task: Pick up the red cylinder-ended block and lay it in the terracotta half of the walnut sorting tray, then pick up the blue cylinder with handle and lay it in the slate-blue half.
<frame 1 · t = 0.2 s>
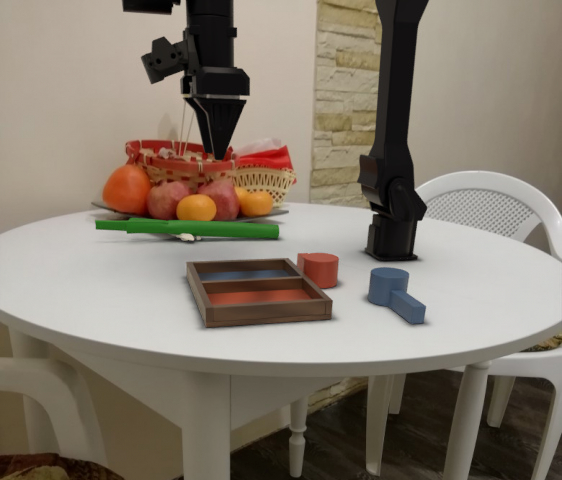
hand: (213, 156, 73), 15 cm above the table, tool pointing down, fingers open, 9 cm apart
blue cylinder with handle: (386, 300, 67), on the table
green stepped bar: (190, 241, 91), on the table
sorting tray: (252, 296, 66), on the table
red cylinder-ended block: (319, 283, 72), on the table
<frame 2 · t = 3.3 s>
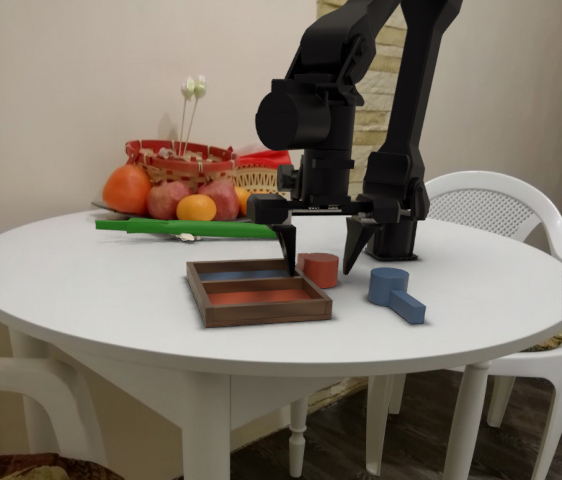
hand: (318, 275, 72), 1 cm above the table, tool pointing down, fingers open, 7 cm apart
nothing on the table moved.
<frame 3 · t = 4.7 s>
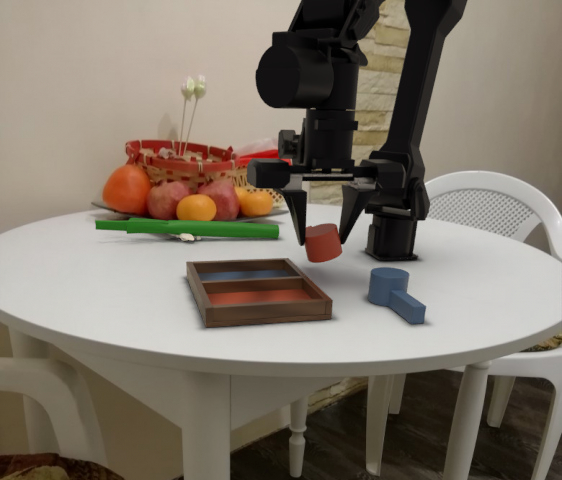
hand: (321, 244, 70), 5 cm above the table, tool pointing down, fingers closed on red cylinder-ended block, 5 cm apart
red cylinder-ended block: (325, 255, 71), point 4 cm above the table, tilted 18°, touching gripper
everything else where it was.
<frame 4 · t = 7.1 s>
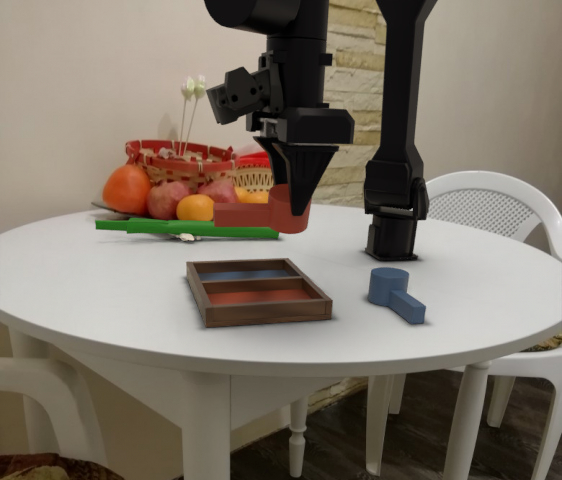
hand: (289, 210, 58), 11 cm above the table, tool pointing down, fingers closed on red cylinder-ended block, 5 cm apart
red cylinder-ended block: (286, 223, 60), point 10 cm above the table, tilted 18°, touching gripper
everything else where it was.
when the fingers open (3 cm above the table, at t = 9.4 s): red cylinder-ended block stays where it is, resting on sorting tray.
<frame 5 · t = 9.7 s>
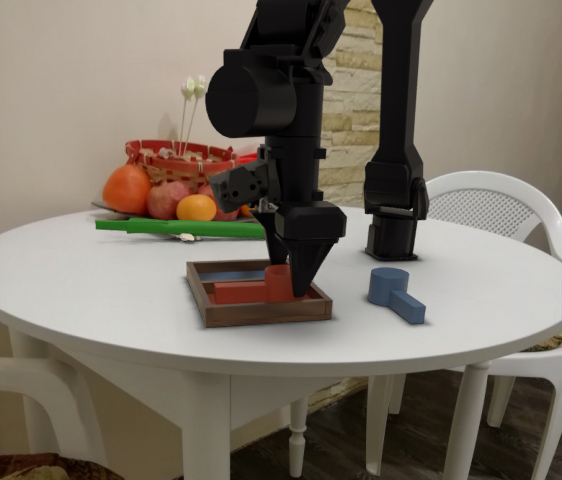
hand: (286, 284, 62), 3 cm above the table, tool pointing down, fingers open, 9 cm apart
red cylinder-ended block: (283, 299, 64), point 1 cm above the table, touching sorting tray
everything else where it was.
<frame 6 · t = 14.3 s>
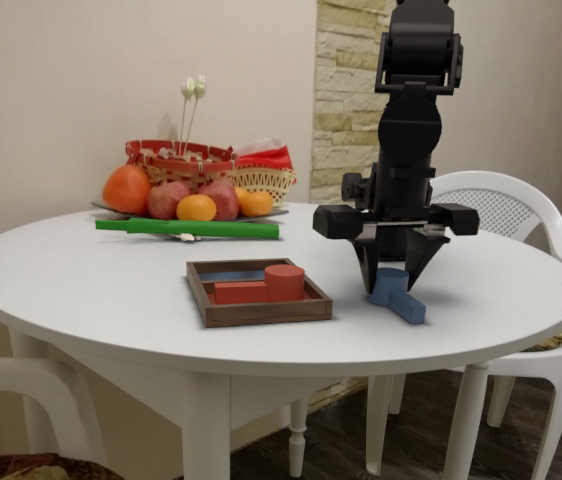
hand: (387, 292, 66), 1 cm above the table, tool pointing down, fingers closed on blue cylinder with handle, 4 cm apart
blue cylinder with handle: (386, 300, 67), on the table, touching gripper
everything else where it was.
when the fingers open (3 cm above the table, at t = 20.1 s): blue cylinder with handle stays where it is, resting on sorting tray.
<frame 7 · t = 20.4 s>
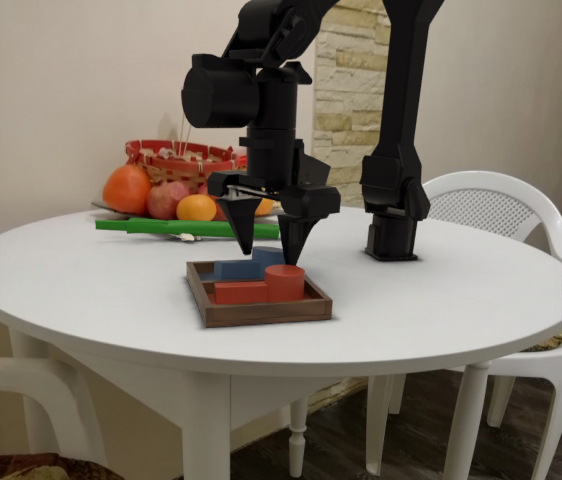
hand: (268, 261, 70), 3 cm above the table, tool pointing down, fingers open, 8 cm apart
blue cylinder with handle: (267, 276, 70), point 1 cm above the table, tilted 8°, touching sorting tray
everything else where it was.
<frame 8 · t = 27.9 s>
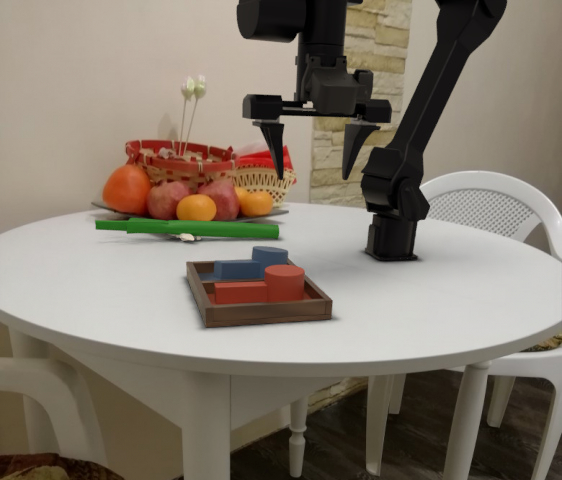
hand: (313, 179, 74), 12 cm above the table, tool pointing down, fingers open, 9 cm apart
nothing on the table moved.
at the end: red cylinder-ended block inside the target area on the sorting tray (1.6 cm from its centre), point 0.8 cm above the sorting tray's base; blue cylinder with handle inside the target area on the sorting tray (1.4 cm from its centre), point 1.1 cm above the sorting tray's base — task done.
